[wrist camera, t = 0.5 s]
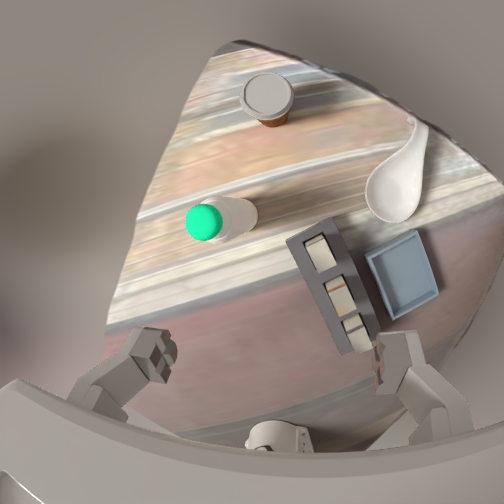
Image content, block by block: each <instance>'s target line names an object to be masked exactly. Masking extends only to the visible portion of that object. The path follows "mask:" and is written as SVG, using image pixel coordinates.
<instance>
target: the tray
mask: <svg viewBox="0 0 504 504" xmlns="http://www.w3.org/2000/svg"><path fill="white" fill-rule="evenodd" d="M364 256H365V258H366V261H367V263H368V265H369V268H370V270H371V272H372V275H373V277H374V279H375V282H376V284H377V287H378V289H379V292H380V294H381V297H382V299H383V302H384V304H385V307H386V310H387V312H388V315H389V316H390V318H391V319H392V320H395V319H397V318H399V317H400V316H402V315H404V314H406V313H408V312H410V311H411V310H413V309H415V308H417V307H419V306H420V305H422V304H424V303H426V302H427V301H429V300H431V299H432V298H434V297H436V296H437V295H439V291H438V288H437V285H436V282H435V278H434V275H433V272H432V269H431V266H430V263H429V260H428V257H427V255H426V252H425V249H424V246H423V244H422V241H421V238H420V236H419V233H418V231H417V230H413V229H410V230H409V231H407V232H405V233H403V234H401V235H400V236H398V237H396V238H394V239H392V240H390V241H388V242H386V243H385V244H383V245H381V246H379V247H377V248H375V249H373V250H371V251H369V252H367V253H366V254H364Z"/></svg>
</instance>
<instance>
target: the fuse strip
mask: <svg viewBox="0 0 504 504" xmlns="http://www.w3.org/2000/svg"><path fill="white" fill-rule="evenodd" d="M319 234H321V235H322V236H323V237H324V239H325V241H326V243H327V245H328V247H329V249H330V251H331V253H332V255H333V258H334V260H335V262H336V264H337V265H335V266H333V267H331V268H329V269H327V270H325V271H323V272H321V273H318V271H317V269H316V267H315V265H314V263H313V261H312V259H311V257H310V255H309V253H308V251H307V249H306V244H305V241H307V240H309V239H311V238H313V237H315V236H317V235H319ZM285 242H286V244H287V246H288V248H289V250H290V252H291V254H292V255H293V257H294V259H295V261H296V263H297V265H298V267H299V269H300V271H301V273H302V275H303V277H304V279H305V281H306V283H307V285H308V287H309V289H310V291H311V293H312V295H313V298H314V300H315V302H316V304H317V306H318V308H319V310H320V312H321V314H322V316H323V318H324V320H325V322H326V324H327V326H328V329H329V331H330V333H331V335H332V337H333V339H334V341H335V343H336V345H337V348H338V350H339V352H340V354H341V355H343V354H346V353H348V352H350V351H352V350H354V349H353V347H352V344H351V342H350V340H349V338H348V335H347V333H346V329H345V326H344V323H343V320H345V319H347V318H349V317H351V316H353V315H355V314H357V313H358V315H359V317H360V319H361V321H362V323H363V325H364V327H365V330H366V332H367V334H368V337H369V339H370V342H372V341H374V340H376V336H377V334H378V333H383V332H382V330H381V327H380V324H379V322H378V319H377V317H376V314H375V312H374V309H373V307H372V304H371V302H370V300H369V297H368V295H367V292H366V290H365V288H364V285H363V283H362V281H361V278H360V276H359V274H358V272H357V269H356V267H355V265H354V263H353V260H352V258H351V256H350V254H349V252H348V249H347V247H346V245H345V243H344V241H343V239H342V237H341V235H340V233H339V230H338V228H337V226H336V224H335V222H334V220H333V218H331V217H329V218H327V219H325V220H323V221H321V222H319V223H318V224H316V225H314V226H312V227H310V228H308V229H306V230H304V231H302V232H300V233H298V234H296V235H294V236H292V237H290V238H288V239H286V241H285ZM339 275H341V276H342V278H343V280H344V282H345V284H346V286H347V288H348V290H349V292H350V295H351V297H352V299H353V301H354V304H355V306H356V308H357V309H355V310H353V311H351V312H349V313H347V314H345V315H343V316H341V317H339V316H338V313H337V311H336V309H335V307H334V305H333V303H332V301H331V298H330V296H329V294H328V291H327V288H326V284H325V282H326V281H328V280H330V279H333V278H335V277H337V276H339Z"/></svg>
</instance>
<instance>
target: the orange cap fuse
mask: <svg viewBox="0 0 504 504" xmlns="http://www.w3.org/2000/svg"><path fill="white" fill-rule="evenodd" d="M325 284H326V288H327V291H328V294H329V296H330V298H331V301H332V303H333V305H334V307H335V309H336V311H337V313H338V316H339V317H341V316H343V315H345V314H347V313H349V312H351V311H353V310H355V309H357V308H356V306H355V304H354V301H353V299H352V297H351V295H350V292H349V290H348V288H347V286H346V284H345V282H344V280H343V278H342V276H341V275H339V276H337V277H335V278H333V279H330V280H328V281H326V282H325Z"/></svg>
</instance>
